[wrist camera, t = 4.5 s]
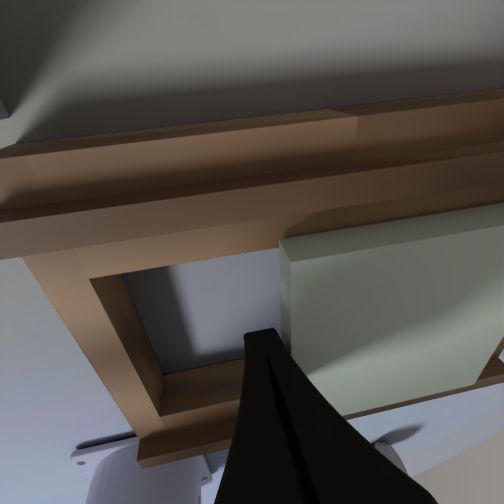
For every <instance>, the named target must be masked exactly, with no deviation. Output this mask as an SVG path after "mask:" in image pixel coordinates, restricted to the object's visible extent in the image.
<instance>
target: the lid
mask: <svg viewBox="0 0 504 504" xmlns="http://www.w3.org/2000/svg"><path fill="white" fill-rule="evenodd" d="M279 261H280V291H281V321H282V342H283V344H284V345H285V347H286V348H287V350H288V351H289V353H290V354H291V356H292V357H293V359H294V360H295V361H296V363H297V364H298V365H299V367H300V368H301V369H302V371H303V372H304V373H305V375H306V376H307V377H308V379H309V380H310V381H311V382H312V383H313V385H314V386H315V387H316V388H317V389H318V391H319V392H320V393H321V394H322V395H323V396H324V397H325V399H326V400H327V401H328V402H329V403H330V404H331V405H332V406H333V407H334V408H335V409H336V410H337V412H338V413H339V414H340V415H341V416H344V415H348V414H352V413H357V412H361V411H365V410H369V409H373V408H378V407H382V406H386V405H390V404H394V403H399V402H403V401H407V400H411V399H415V398H420V397H424V396H428V395H432V394H436V393H440V392H445V391H449V390H453V389H457V388H461V387H466V386H470V385H474V383H475V382H476V380H477V379H478V377H479V375H480V374H481V372H482V370H483V369H484V367H485V366H486V364H487V362H488V361H489V359H490V357H491V356H492V354H493V353H494V351H495V349H496V348H497V346H498V344H499V343H500V341H501V340H502V338H503V336H504V203H499V204H493V205H487V206H481V207H475V208H468V209H462V210H456V211H450V212H444V213H438V214H432V215H426V216H420V217H413V218H407V219H401V220H395V221H389V222H383V223H377V224H371V225H365V226H358V227H352V228H346V229H340V230H334V231H328V232H322V233H316V234H309V235H303V236H297V237H291V238H285V239H279Z"/></svg>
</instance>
